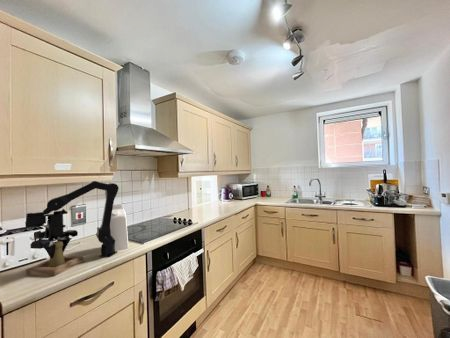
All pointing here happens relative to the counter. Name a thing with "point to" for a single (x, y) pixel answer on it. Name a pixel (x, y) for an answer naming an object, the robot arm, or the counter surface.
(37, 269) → the socket block
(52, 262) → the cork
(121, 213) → the milk
